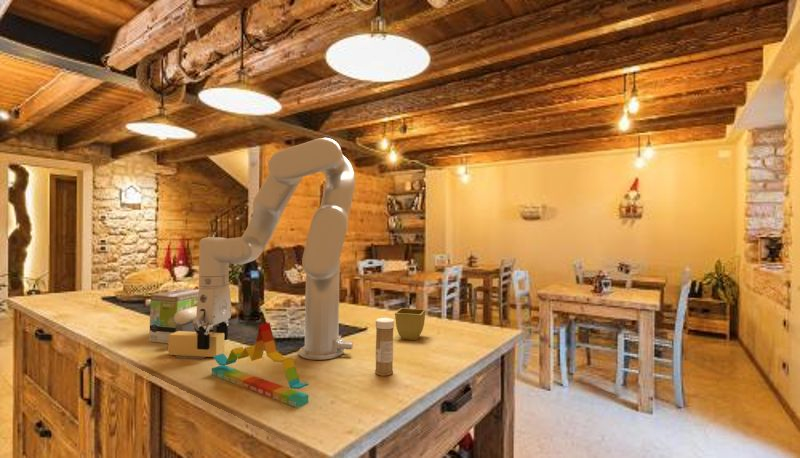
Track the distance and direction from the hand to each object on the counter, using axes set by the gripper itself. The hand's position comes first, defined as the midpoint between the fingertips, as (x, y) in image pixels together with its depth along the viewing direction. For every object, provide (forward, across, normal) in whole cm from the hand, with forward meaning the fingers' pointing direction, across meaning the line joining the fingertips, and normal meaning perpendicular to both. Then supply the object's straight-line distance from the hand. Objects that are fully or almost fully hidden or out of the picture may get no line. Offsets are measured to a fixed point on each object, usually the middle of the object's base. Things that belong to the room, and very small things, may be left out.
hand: (213, 344), depth 110 cm
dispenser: (+3, +9, +10) cm, 14 cm away
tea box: (+4, +16, +21) cm, 27 cm away
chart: (+4, -19, -22) cm, 29 cm away
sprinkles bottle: (+3, -6, -49) cm, 50 cm away
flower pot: (+3, +26, -53) cm, 59 cm away
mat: (+3, 0, +5) cm, 6 cm away
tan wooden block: (+3, 0, +5) cm, 6 cm away
